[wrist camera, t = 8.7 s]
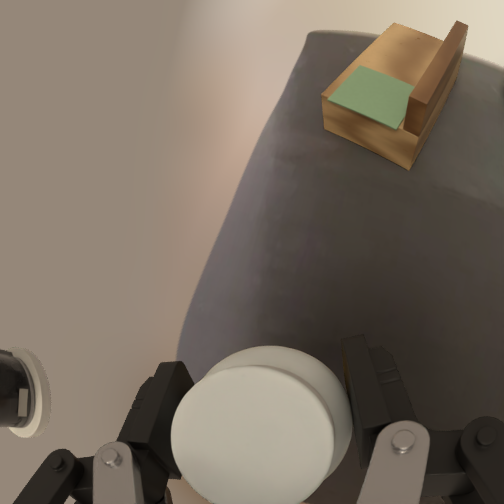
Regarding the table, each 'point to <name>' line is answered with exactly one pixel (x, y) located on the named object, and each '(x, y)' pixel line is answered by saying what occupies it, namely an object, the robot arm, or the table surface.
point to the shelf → (395, 91)
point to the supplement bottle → (262, 428)
